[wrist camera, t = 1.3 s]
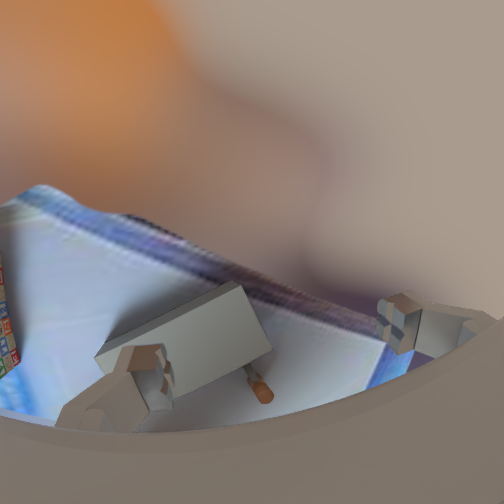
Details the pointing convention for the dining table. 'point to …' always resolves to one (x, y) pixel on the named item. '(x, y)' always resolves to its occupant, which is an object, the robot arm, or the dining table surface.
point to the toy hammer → (258, 386)
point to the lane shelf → (199, 338)
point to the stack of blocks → (6, 335)
